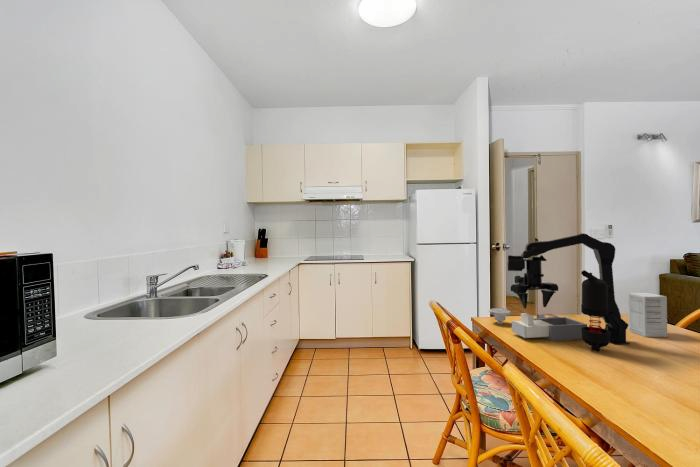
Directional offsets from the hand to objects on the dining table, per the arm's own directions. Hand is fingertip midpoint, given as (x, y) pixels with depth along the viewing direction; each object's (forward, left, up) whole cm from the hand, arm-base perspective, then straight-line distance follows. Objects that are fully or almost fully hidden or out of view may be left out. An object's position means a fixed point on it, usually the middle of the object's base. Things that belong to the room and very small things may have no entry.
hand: (534, 307), depth 148 cm
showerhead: (+19, +5, -12) cm, 22 cm away
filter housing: (+1, -9, -12) cm, 15 cm away
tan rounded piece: (+6, -11, -10) cm, 16 cm away
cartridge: (-2, +3, -10) cm, 11 cm away
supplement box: (-6, -47, -12) cm, 49 cm away
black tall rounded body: (-20, -11, -12) cm, 26 cm away
